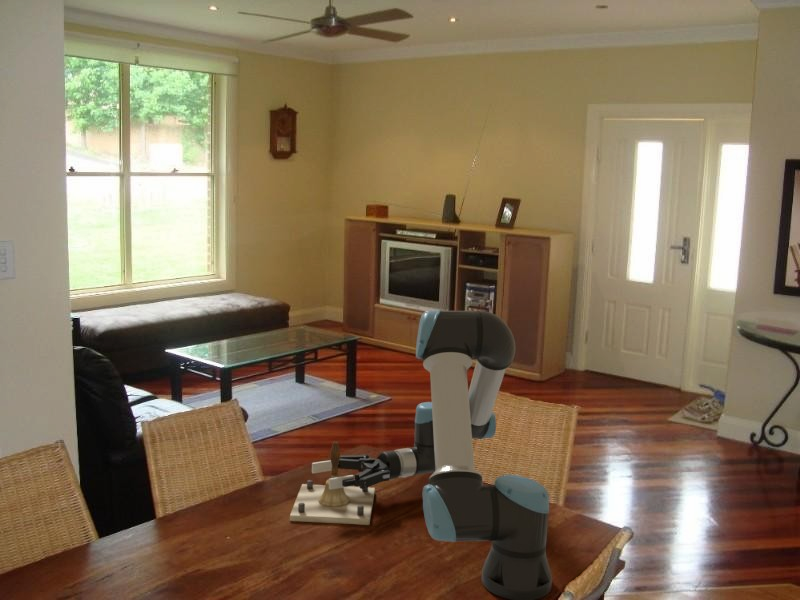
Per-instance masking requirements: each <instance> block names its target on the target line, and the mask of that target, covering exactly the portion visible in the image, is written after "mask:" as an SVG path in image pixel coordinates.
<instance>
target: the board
mask: <svg viewBox="0 0 800 600" xmlns="http://www.w3.org/2000/svg"><path fill="white" fill-rule="evenodd" d="M343 488H344V492H345V494H346V495H347V496H348V497H349V499H350V501H349V503H348V504H346V505H343V506H339V507H329V506H324V505H322V504H320V503H319V502H318V499H319V497H320V496H321V495H322V494H323V492H324V489H325V484H324V485H323V484H314V481H313V480H312V479H308V480H306V483H302V484H301V486H300V488H299V491H298V493H297V496H296V499H295V501H294V504H293V506H292V509H291V511H290V514H289V521H290V522H304V523H305V522H306V523H308V522H309V523H323V524H324V523H326V524H343V525H347V524H348V525H361V526H363V525H364V526H369V525H370V524H371V523H370V522H371V518H372V517H371V516H372V510H373V506H374V505H373V504H374V498H375V493H376V492H375V490H376V488H375V487H371V486H369V487H367V488H364V489H360V486H358V487H356V486H349V487H343Z"/></svg>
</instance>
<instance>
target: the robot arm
mask: <svg viewBox="0 0 800 600" xmlns="http://www.w3.org/2000/svg"><path fill="white" fill-rule="evenodd" d="M417 330H418V331H417V336H416V337H417V338H416V346H415V358H416V359H418V360H422V365H423V368H424V370H426V371H427V372H428V373H429V374H430V375H429V376H430V395H431V396H430V397H431V401H425V402H421V403H419V404H417V406H416V407H415V418H414V442H413V443H414V444H413V447H412V446H411V447H406V448H405V447H403V448H397V449H394V450H387V451H382V452H380V453H379V454H378V456H377V458H374V457H370V454H369V453H368V454H359V455H358V454H356V455H354V454H353V455H347V454H346V455H340V460H339V463H338V469H340V470H353V471H354V470H355V471H358V472H359V473H354V475H353V474H350V475H344V476H343V475H342V476H338V477H336V478H331V477H329V478H328V479H329V489H330V490H331V489H337V488H343V487H349V486H350V487H360V489H364V488H367V487H372V486H375V485H377V484H381V483H382V482H388V481H390V480H394V479H398V478H404V479H406V478H407V477H413V476H418V475H424V474H429V473H430V474H431V475H430V476H429V478H428V484H426V485H424V486H423V488H422V495H421V496H422V497H421V498H422V511H423V514H424V515H423V516H424V521H425V525H426V528H427V529H426V530H427V532H428V534H429V535H430V537H431V538H432V539H433V540H435V541H437V542H450V543H455V542H491V547H490V550H489V551H488V554H487V557H486V559H485V561H484V564H483V566H482V570H481V583H482V585H483V587H484V588H486V590H487V591H488V592H490V593H492V594H493V595H495V596H498V597H500V598H504V599H507V600H539V599H542V598H544V597H546V596H547V595H548V594H550V592H551V590H552V583H553V582H552V581H553V579H552V578H553V576H552V572H551V569H550V565H549V561H548V557H547V554H546V551H547V549H546V548H547V538H548V537H547V536H548V524H549V513H550V511H551V509H550V495H549V492H548V490H547V488H546V487H545V486H544V485H542V484H541V483H540V482H538V481H536V480H534V479H531V478H529V477H525V476H521V475H515V474H503V475H499V476H498V477H496V479H495V481H494V484H483V483H484V482H483V474H481V473H480V472H479V471H478V470H477V469H476V468H475V460H474V459H475V457H474V449H473V448H474V447H473V446H474V445H473V439H476V440H483V439H491V438H493V437H494V436H495V434H496V428H497V420H496V419H497V418H496V414H495V412H493V409H494V408H495V403H496V401H497V398H498V395H499V391H500V390H501V389H500V388H501V385H502V382H503V379H504V376H505V373H506V370H507V369H509V368H510V367H511V365H512V364H513V362H514V358H515V356H516V355H515V354H516V341H515V337H514V335H513V332H512V330H511V328H510V327H509V325H508V324H507V323H506V322H505V321H504V320H503V318H501V317H500V316H498V315H496V314H495V313H492V312H489V311H486V310H485V311H484V310H442V309H439V310H426V311H425V310H424V312H423V313H422V314H421V316H420V319H419V323H418V329H417ZM473 360H476V362H475V366H474V369H473V374H472V377H471V382H470V384H469V383H468V370H469V369H470V368H471V367H472V365H473ZM468 384H469V385H468ZM326 472H332V463H331V459H330V460H323V461H316V462H315V461H314V462H312V463H311V473H312V474H318V473H326Z"/></svg>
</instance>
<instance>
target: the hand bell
mask: <svg viewBox="0 0 800 600" xmlns="http://www.w3.org/2000/svg"><path fill="white" fill-rule="evenodd" d="M340 456H341V449H340V446H339V441H333V443H332V445H331V449H330V453H329V457H330V460H331V463H332V471H331V474H330V478H336V477H339V476H338V475H339V470H338V463H339V460H340ZM324 485H325V489H324V492H323V494H322V495H321V496H320V497H319V499H318V502H319V503H320V504H322V505H324V506H329V507H339V506H343V505H346V504H348V503H349V501H350V499H349V497H348V496H347V495H346V494H345V492H344V488H337V489H331V490H330V489H329V478H327V480H326V481H325V484H324Z"/></svg>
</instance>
